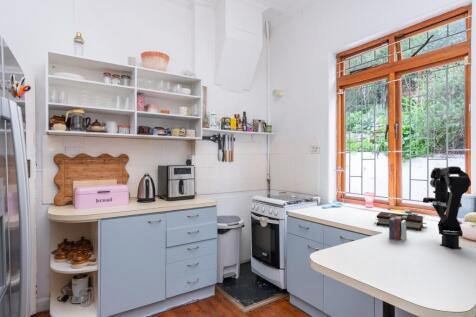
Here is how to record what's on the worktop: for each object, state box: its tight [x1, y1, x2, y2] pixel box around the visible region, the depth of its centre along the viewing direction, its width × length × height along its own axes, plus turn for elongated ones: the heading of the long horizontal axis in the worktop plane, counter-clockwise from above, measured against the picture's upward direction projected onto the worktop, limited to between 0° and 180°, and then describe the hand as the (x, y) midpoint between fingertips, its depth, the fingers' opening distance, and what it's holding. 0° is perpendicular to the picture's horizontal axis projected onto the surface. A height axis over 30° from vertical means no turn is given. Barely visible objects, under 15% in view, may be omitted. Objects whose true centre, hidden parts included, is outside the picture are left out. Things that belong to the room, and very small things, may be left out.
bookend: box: [401, 220, 408, 242], centre depth 153 cm, size 1×8×10 cm, turn 142°
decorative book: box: [376, 211, 427, 231], centre depth 187 cm, size 19×8×30 cm
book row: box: [388, 216, 402, 241], centre depth 156 cm, size 5×8×12 cm, turn 142°
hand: (441, 217), depth 154 cm, fingers closed
